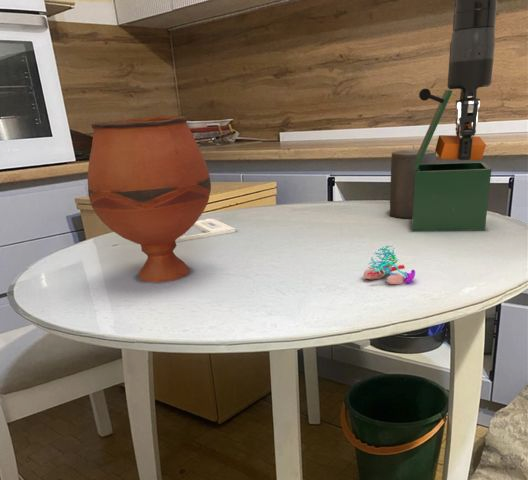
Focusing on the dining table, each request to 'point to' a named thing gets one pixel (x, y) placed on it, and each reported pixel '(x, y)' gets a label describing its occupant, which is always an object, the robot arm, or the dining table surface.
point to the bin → (450, 197)
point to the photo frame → (208, 229)
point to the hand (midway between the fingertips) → (462, 157)
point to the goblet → (149, 187)
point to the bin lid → (426, 95)
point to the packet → (450, 147)
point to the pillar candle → (405, 180)
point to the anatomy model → (388, 269)
